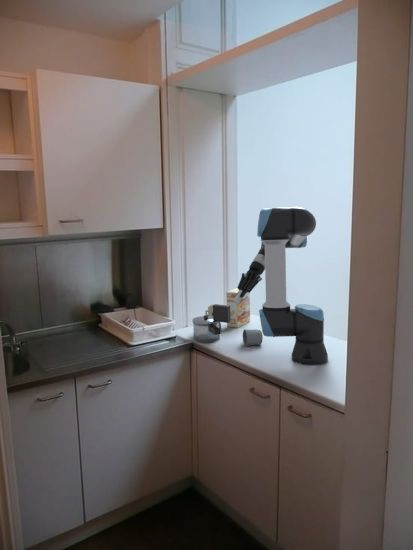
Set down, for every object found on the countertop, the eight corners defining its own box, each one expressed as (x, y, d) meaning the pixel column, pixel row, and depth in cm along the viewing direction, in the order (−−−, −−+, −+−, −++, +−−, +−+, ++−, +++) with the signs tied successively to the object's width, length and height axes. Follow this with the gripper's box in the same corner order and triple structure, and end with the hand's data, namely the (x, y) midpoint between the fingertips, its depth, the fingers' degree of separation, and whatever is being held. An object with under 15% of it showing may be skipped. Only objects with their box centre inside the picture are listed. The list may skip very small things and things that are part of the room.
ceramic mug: (263, 346, 213) (263, 330, 212) (246, 347, 211) (246, 332, 210) (256, 340, 223) (255, 324, 222) (240, 341, 222) (239, 326, 221)
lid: (187, 323, 224) (186, 305, 222) (202, 316, 235) (201, 299, 234) (222, 328, 213) (221, 309, 211) (236, 321, 224) (235, 303, 223)
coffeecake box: (238, 328, 244) (236, 292, 241) (226, 326, 248) (225, 291, 245) (250, 321, 257) (250, 287, 254) (239, 320, 261) (238, 286, 257)
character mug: (208, 332, 238) (207, 308, 236) (203, 329, 245) (202, 305, 242) (227, 329, 242) (226, 306, 240) (221, 326, 249) (221, 303, 247)
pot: (231, 344, 217) (231, 326, 215) (207, 349, 212) (206, 330, 210) (209, 331, 239) (209, 315, 238) (186, 335, 234) (186, 318, 233)
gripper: (272, 270, 230) (249, 308, 222) (253, 268, 240) (231, 304, 232) (264, 261, 225) (241, 299, 218) (246, 259, 235) (223, 296, 228)
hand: (236, 302), depth 225 cm, fingers closed
